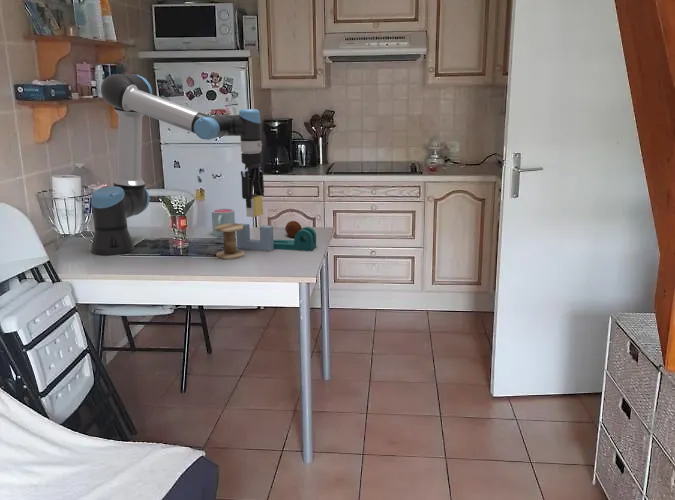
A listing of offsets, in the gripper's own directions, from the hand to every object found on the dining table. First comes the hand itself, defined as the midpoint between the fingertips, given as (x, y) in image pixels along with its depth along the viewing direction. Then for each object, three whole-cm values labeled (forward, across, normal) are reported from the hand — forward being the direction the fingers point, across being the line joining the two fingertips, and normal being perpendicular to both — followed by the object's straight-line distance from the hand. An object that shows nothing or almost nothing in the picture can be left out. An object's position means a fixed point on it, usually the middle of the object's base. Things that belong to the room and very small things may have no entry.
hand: (254, 214), depth 236 cm
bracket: (+14, +6, -12) cm, 19 cm away
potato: (+14, +24, -5) cm, 28 cm away
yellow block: (0, 0, 0) cm, 0 cm away
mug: (+13, +15, +23) cm, 31 cm away
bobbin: (+13, -12, +4) cm, 18 cm away
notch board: (+13, 0, 0) cm, 13 cm away
